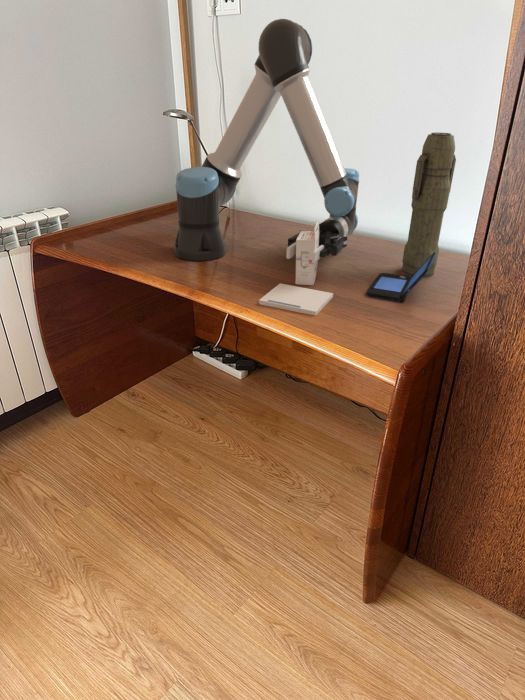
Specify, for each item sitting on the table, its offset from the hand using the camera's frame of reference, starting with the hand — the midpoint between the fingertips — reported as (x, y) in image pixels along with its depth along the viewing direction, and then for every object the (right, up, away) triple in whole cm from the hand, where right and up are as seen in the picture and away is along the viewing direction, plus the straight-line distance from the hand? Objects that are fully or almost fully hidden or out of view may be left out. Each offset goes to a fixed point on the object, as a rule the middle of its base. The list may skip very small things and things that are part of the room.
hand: (300, 255), depth 123 cm
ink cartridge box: (+2, -5, +8) cm, 10 cm away
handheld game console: (+25, -9, +3) cm, 26 cm away
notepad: (-1, -12, -4) cm, 12 cm away
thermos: (+33, -2, +15) cm, 36 cm away
